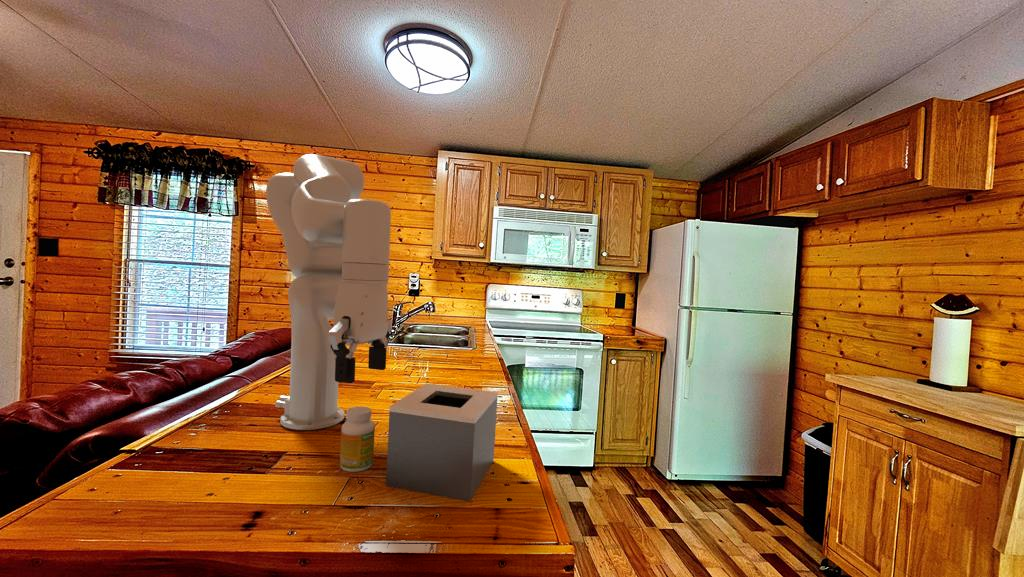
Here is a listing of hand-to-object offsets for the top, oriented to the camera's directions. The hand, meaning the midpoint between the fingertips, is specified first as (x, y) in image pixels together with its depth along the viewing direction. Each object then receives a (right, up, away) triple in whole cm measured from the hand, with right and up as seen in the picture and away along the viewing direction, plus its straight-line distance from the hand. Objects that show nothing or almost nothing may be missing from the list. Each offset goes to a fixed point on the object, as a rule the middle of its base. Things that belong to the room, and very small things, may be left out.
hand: (361, 375), depth 71 cm
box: (+14, -17, +1) cm, 22 cm away
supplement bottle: (-1, -16, +1) cm, 16 cm away
